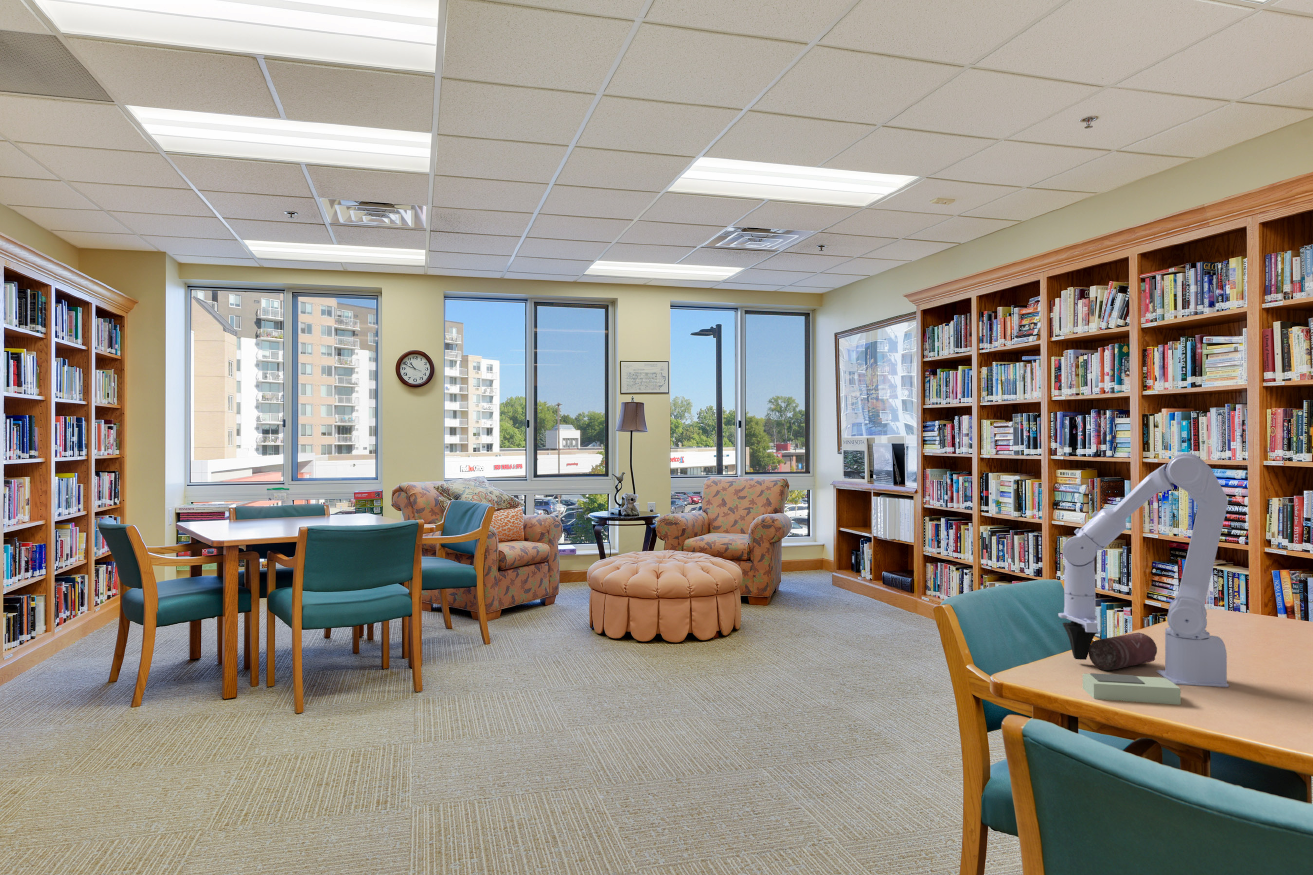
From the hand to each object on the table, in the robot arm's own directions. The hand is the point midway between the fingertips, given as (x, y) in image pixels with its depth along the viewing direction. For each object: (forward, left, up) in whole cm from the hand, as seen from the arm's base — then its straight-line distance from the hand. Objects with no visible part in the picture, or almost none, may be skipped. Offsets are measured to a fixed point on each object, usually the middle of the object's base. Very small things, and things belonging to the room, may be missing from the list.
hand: (1080, 658), depth 162 cm
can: (-2, +5, +2) cm, 6 cm away
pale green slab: (-2, +21, -1) cm, 21 cm away
